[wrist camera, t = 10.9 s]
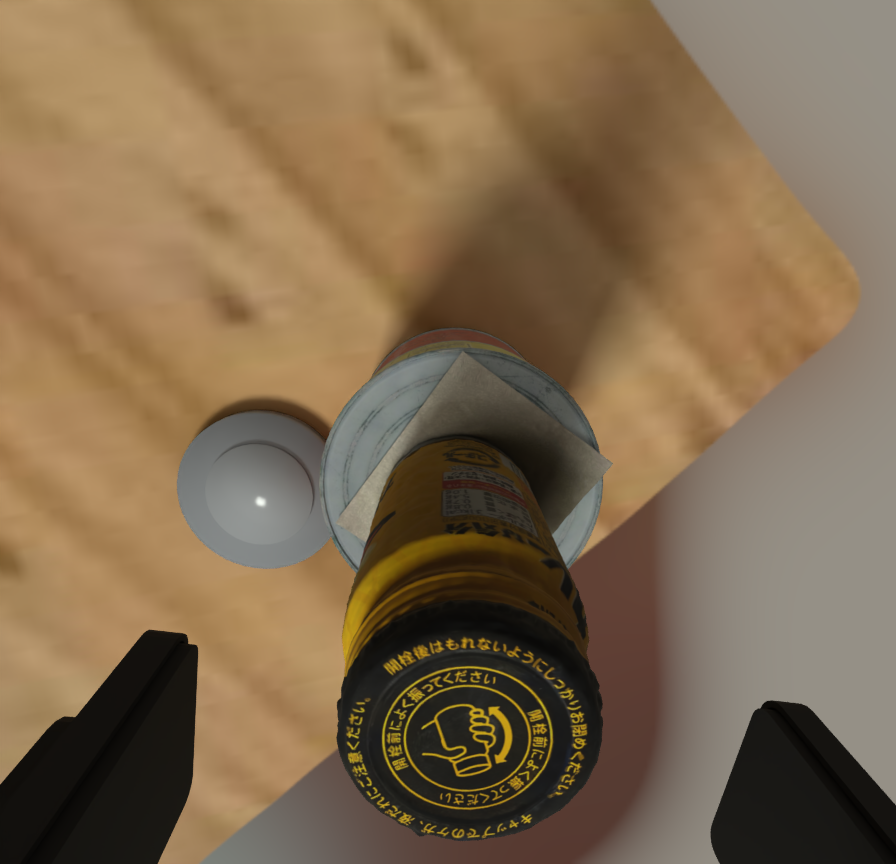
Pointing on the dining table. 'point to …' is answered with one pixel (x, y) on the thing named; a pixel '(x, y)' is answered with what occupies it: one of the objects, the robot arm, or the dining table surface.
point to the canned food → (402, 395)
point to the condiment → (469, 618)
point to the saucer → (255, 489)
